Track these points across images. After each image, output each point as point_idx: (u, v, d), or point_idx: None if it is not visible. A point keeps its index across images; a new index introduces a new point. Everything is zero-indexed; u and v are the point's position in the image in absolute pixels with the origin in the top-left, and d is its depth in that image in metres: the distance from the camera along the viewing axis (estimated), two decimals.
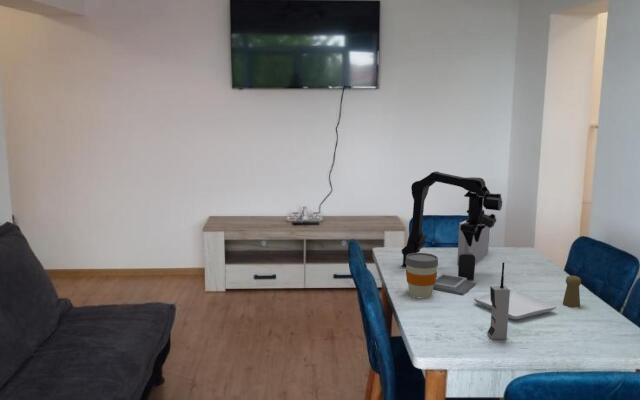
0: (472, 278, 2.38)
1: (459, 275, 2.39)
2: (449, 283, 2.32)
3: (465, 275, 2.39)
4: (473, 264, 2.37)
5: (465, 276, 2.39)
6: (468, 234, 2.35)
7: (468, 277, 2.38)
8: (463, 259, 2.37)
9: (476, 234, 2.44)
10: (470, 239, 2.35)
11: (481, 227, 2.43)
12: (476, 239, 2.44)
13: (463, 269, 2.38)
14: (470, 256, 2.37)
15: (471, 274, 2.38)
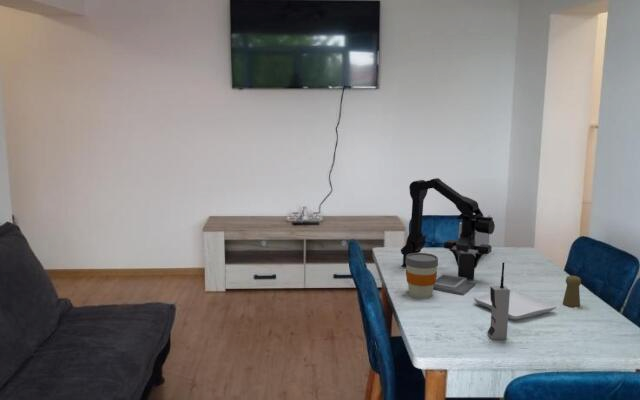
0: (472, 278, 2.38)
1: (459, 275, 2.39)
2: (449, 283, 2.32)
3: (465, 275, 2.39)
4: (473, 264, 2.37)
5: (465, 276, 2.39)
6: None
7: (468, 277, 2.38)
8: (463, 258, 2.37)
9: None
10: None
11: None
12: None
13: (463, 268, 2.38)
14: (470, 256, 2.37)
15: (471, 274, 2.38)
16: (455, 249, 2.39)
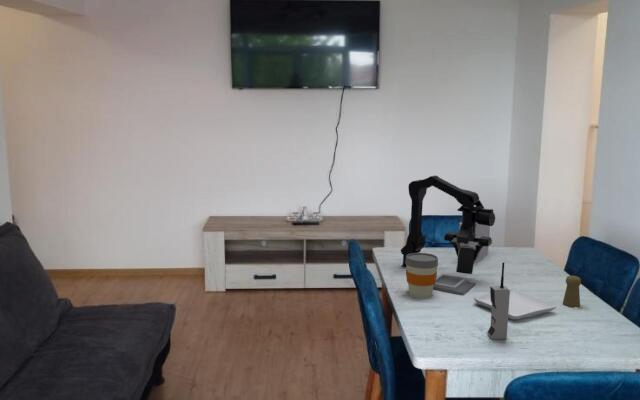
0: (470, 272, 2.38)
1: (458, 268, 2.39)
2: (449, 283, 2.32)
3: (464, 268, 2.38)
4: (473, 258, 2.37)
5: (464, 269, 2.39)
6: None
7: (467, 271, 2.38)
8: (463, 252, 2.37)
9: None
10: None
11: None
12: None
13: (462, 262, 2.38)
14: (471, 250, 2.36)
15: (470, 268, 2.38)
16: (455, 241, 2.39)
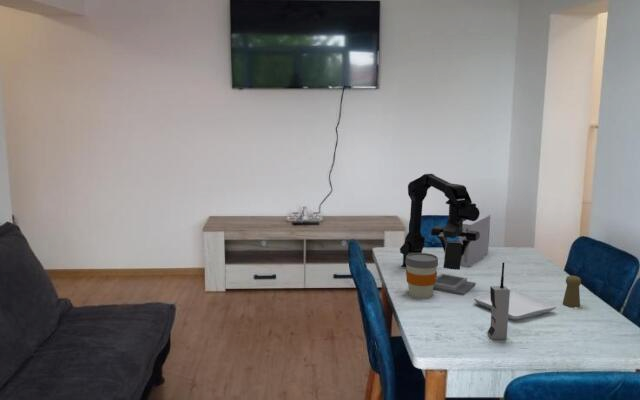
0: (458, 267, 2.31)
1: (445, 264, 2.31)
2: (449, 283, 2.32)
3: (451, 264, 2.31)
4: (460, 253, 2.29)
5: (451, 265, 2.31)
6: None
7: (454, 266, 2.31)
8: (450, 247, 2.29)
9: None
10: None
11: None
12: None
13: (450, 257, 2.30)
14: (458, 245, 2.29)
15: (457, 263, 2.30)
16: (442, 236, 2.31)
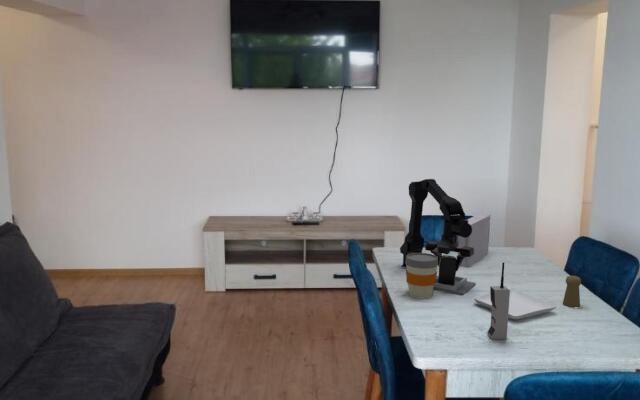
0: (452, 282, 2.30)
1: (439, 278, 2.30)
2: None
3: (445, 279, 2.30)
4: (454, 268, 2.28)
5: (445, 280, 2.30)
6: None
7: (448, 281, 2.30)
8: (444, 262, 2.28)
9: None
10: None
11: None
12: None
13: (444, 272, 2.29)
14: (452, 260, 2.28)
15: (452, 278, 2.29)
16: (437, 251, 2.30)
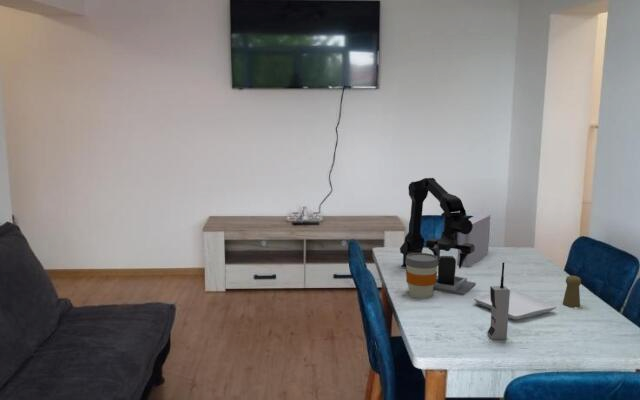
0: (452, 282, 2.30)
1: (439, 279, 2.30)
2: None
3: (445, 279, 2.30)
4: (453, 268, 2.29)
5: (445, 280, 2.30)
6: None
7: (448, 281, 2.30)
8: (443, 262, 2.29)
9: None
10: None
11: None
12: None
13: (443, 272, 2.29)
14: (450, 259, 2.28)
15: (451, 278, 2.29)
16: (435, 248, 2.30)
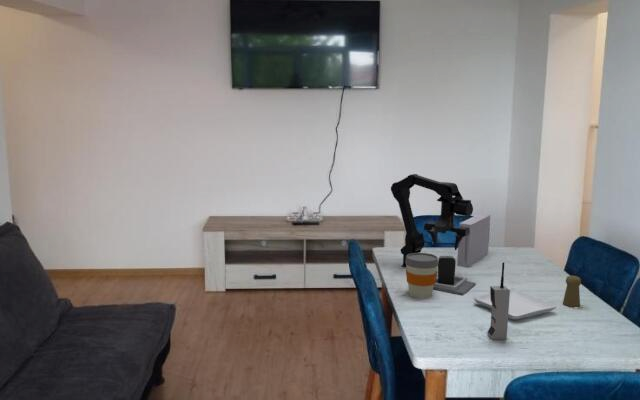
0: (452, 282, 2.30)
1: (439, 279, 2.30)
2: None
3: (445, 279, 2.30)
4: (453, 268, 2.29)
5: (445, 280, 2.30)
6: None
7: (448, 281, 2.30)
8: (443, 262, 2.29)
9: None
10: None
11: None
12: None
13: (443, 272, 2.29)
14: (450, 259, 2.28)
15: (451, 278, 2.29)
16: (432, 230, 2.45)
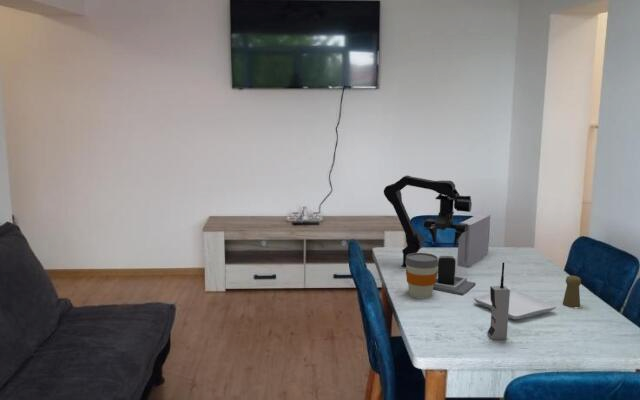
0: (452, 282, 2.30)
1: (439, 279, 2.30)
2: None
3: (445, 279, 2.30)
4: (453, 268, 2.29)
5: (445, 280, 2.30)
6: None
7: (448, 281, 2.30)
8: (443, 262, 2.29)
9: None
10: None
11: None
12: None
13: (443, 272, 2.29)
14: (450, 259, 2.28)
15: (451, 278, 2.29)
16: (432, 227, 2.50)
